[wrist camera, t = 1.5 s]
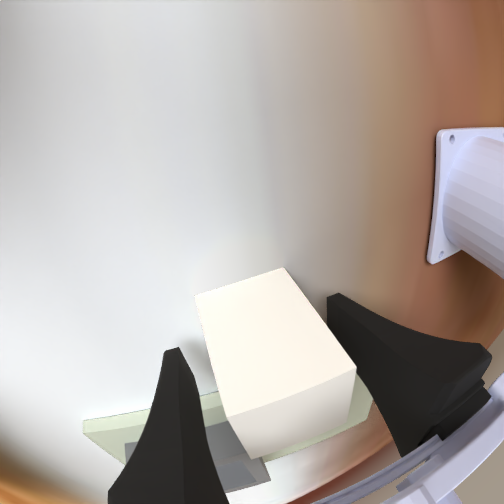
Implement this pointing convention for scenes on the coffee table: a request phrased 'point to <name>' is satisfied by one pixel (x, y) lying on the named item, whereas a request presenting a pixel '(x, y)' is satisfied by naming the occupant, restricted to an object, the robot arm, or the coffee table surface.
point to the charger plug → (274, 362)
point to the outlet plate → (217, 438)
